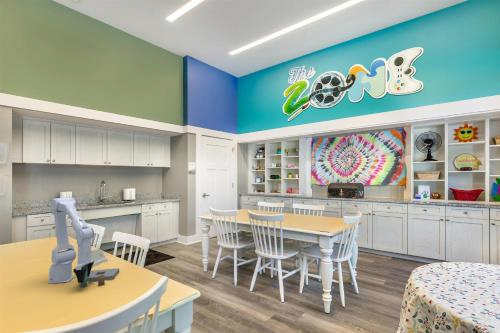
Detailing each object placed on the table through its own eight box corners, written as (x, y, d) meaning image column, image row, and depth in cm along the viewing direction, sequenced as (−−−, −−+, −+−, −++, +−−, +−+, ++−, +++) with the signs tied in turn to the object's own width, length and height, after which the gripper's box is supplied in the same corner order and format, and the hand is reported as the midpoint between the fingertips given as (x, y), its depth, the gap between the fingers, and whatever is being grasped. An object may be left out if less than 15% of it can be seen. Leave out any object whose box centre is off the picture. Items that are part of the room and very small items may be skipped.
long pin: (79, 288, 127) (79, 267, 128) (81, 285, 130) (82, 265, 130) (85, 287, 128) (86, 267, 128) (87, 285, 131) (88, 265, 131)
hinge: (86, 269, 153) (82, 253, 154) (80, 271, 154) (76, 255, 155) (108, 260, 169) (104, 246, 171) (102, 262, 170) (98, 248, 172)
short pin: (97, 286, 129) (97, 277, 129) (99, 284, 132) (99, 275, 132) (103, 285, 130) (103, 276, 130) (105, 283, 133) (105, 274, 133)
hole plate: (79, 282, 134) (79, 278, 134) (88, 274, 146) (88, 270, 146) (113, 279, 138) (113, 275, 138) (119, 271, 149) (119, 268, 149)
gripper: (87, 255, 124) (87, 284, 123) (98, 248, 138) (97, 273, 137) (71, 257, 122) (70, 286, 121) (83, 248, 136) (82, 274, 135)
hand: (83, 279), depth 129 cm, fingers open, 7 cm apart
